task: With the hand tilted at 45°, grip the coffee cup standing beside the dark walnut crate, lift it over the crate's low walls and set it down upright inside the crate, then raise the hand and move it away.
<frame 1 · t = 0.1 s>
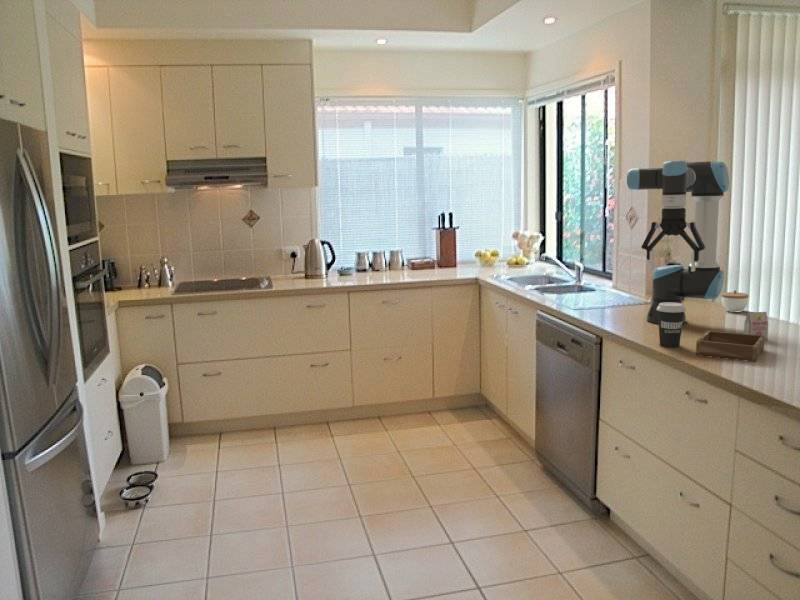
hand: (672, 270, 236), 28 cm above the counter, tool pointing down, fingers open, 13 cm apart
small food carton: (755, 339, 253), on the counter
walnut crate: (730, 352, 234), on the counter
coffee cup: (669, 346, 246), on the counter
lidded jar: (733, 311, 304), on the counter
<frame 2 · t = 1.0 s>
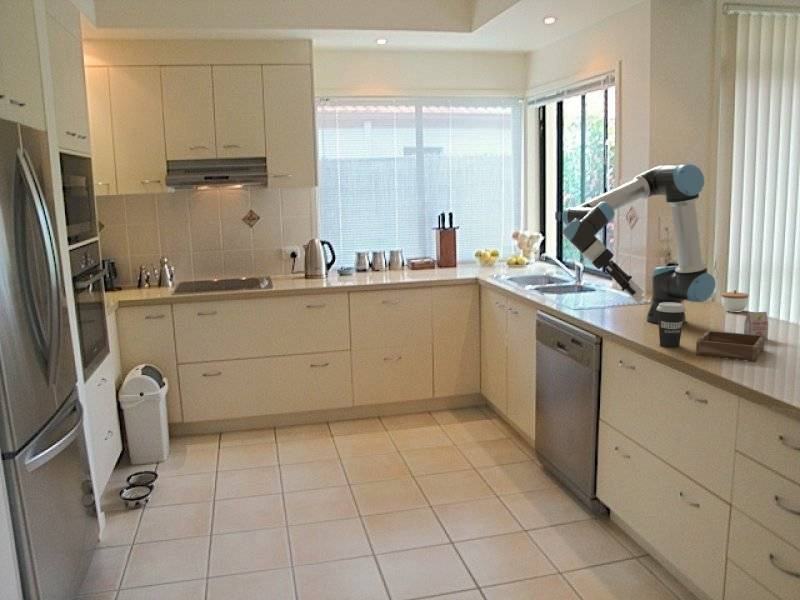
hand: (641, 297, 246), 17 cm above the counter, tool tilted 45°, fingers open, 13 cm apart
nothing on the counter moved.
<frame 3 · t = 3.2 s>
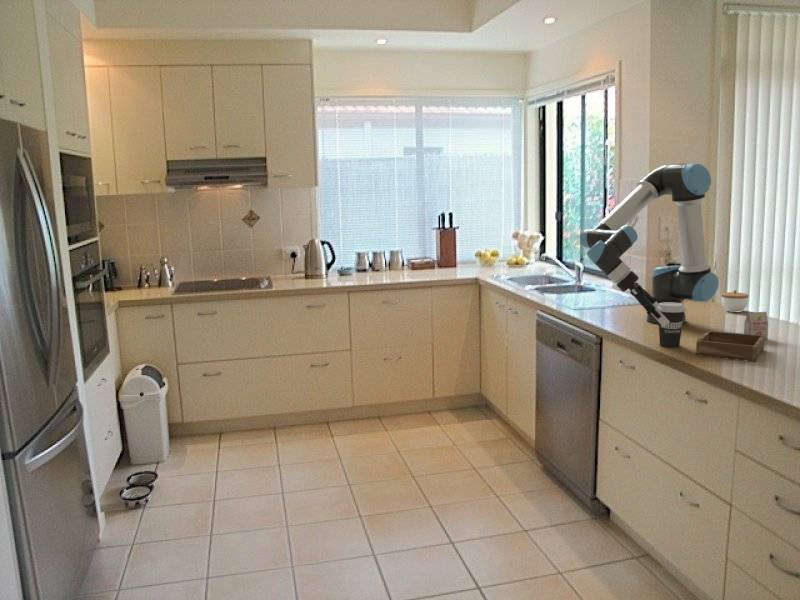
hand: (666, 320, 244), 9 cm above the counter, tool tilted 45°, fingers open, 13 cm apart
nothing on the counter moved.
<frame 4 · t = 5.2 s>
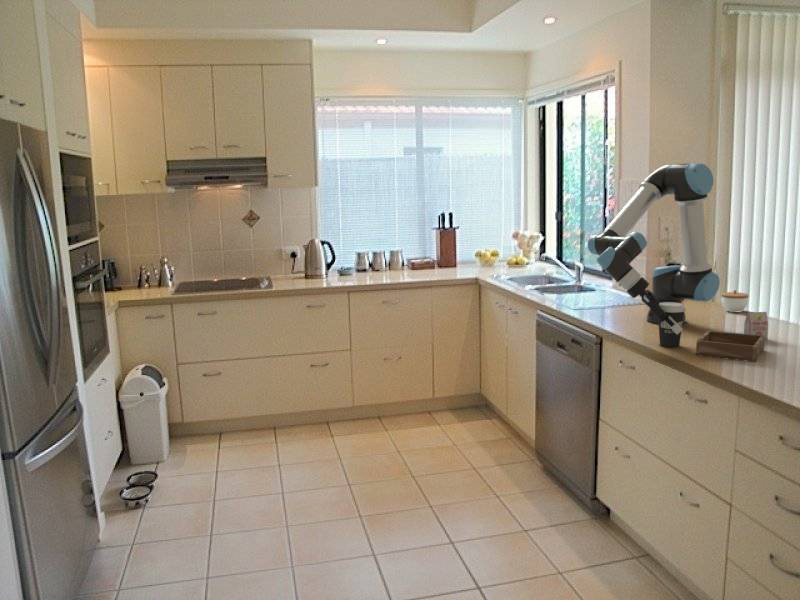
hand: (679, 328, 244), 6 cm above the counter, tool tilted 45°, fingers closed on coffee cup, 9 cm apart
coffee cup: (669, 346, 246), on the counter, touching gripper
everything else where it was.
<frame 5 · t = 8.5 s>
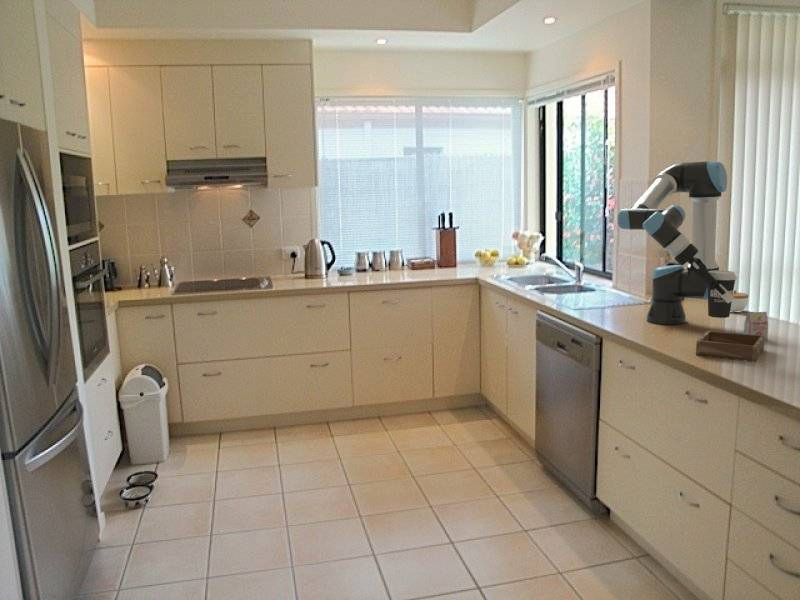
hand: (730, 298, 231), 19 cm above the counter, tool tilted 45°, fingers closed on coffee cup, 9 cm apart
coffee cup: (718, 316, 233), point 12 cm above the counter, touching gripper
everything else where it was.
when the fingers open (9 cm above the counter, at t = 11.7 s): coffee cup drops 1 cm, resting on walnut crate.
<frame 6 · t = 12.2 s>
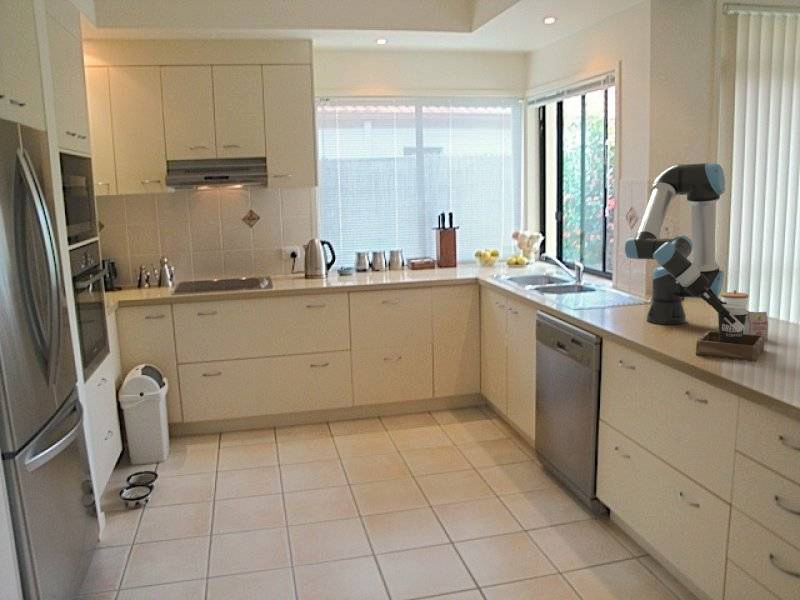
hand: (739, 325, 231), 9 cm above the counter, tool tilted 45°, fingers open, 13 cm apart
coffee cup: (729, 350, 234), point 1 cm above the counter, touching walnut crate
everything else where it was.
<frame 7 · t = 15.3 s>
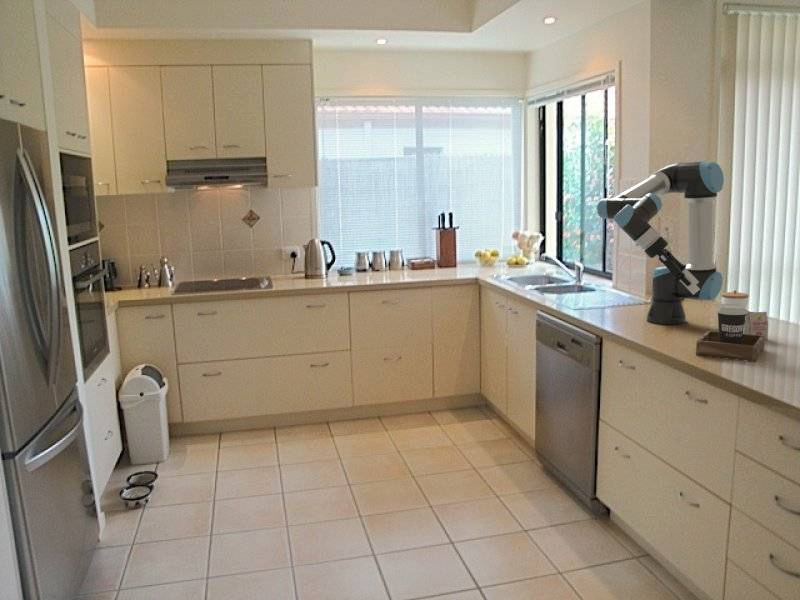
hand: (696, 288, 235), 22 cm above the counter, tool tilted 45°, fingers open, 13 cm apart
nothing on the counter moved.
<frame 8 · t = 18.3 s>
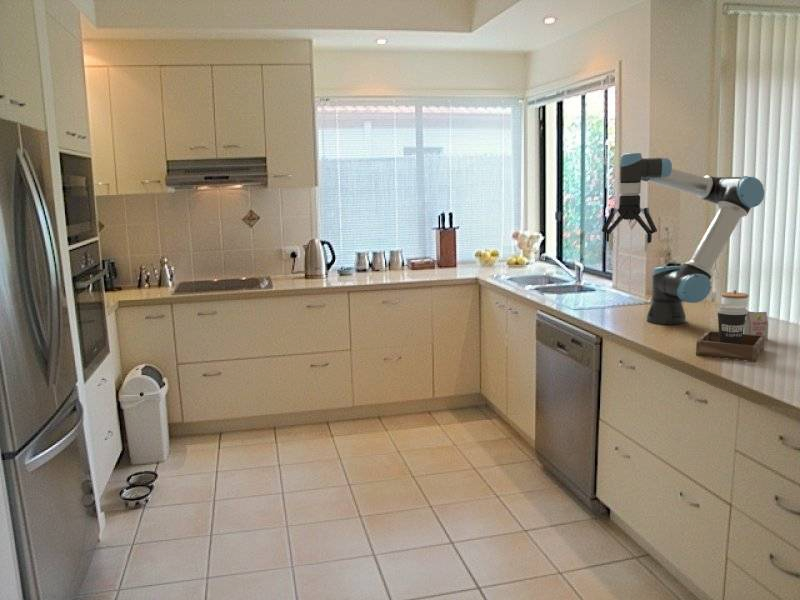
hand: (628, 251, 264), 32 cm above the counter, tool pointing down, fingers open, 13 cm apart
nothing on the counter moved.
at the end: coffee cup inside the target area on the walnut crate (0.1 cm from its centre), point 0.8 cm above the walnut crate's base; coffee cup tilted 0°; the gripper is holding nothing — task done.
